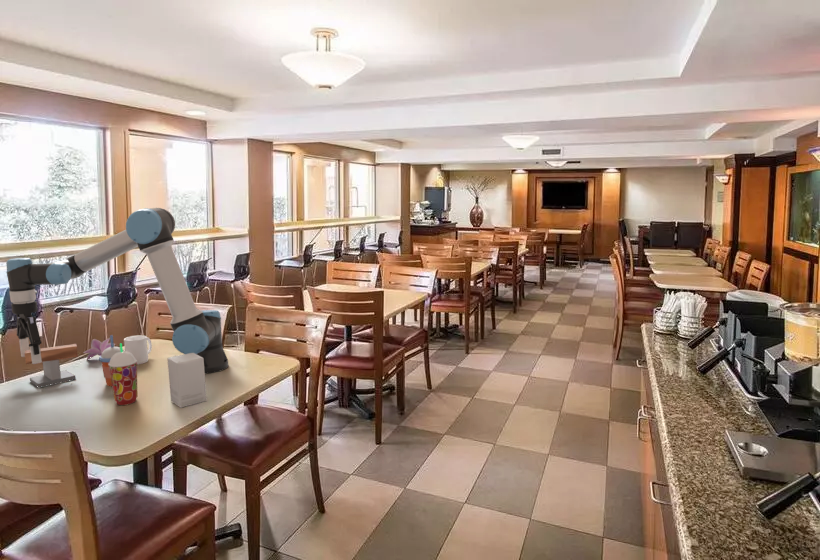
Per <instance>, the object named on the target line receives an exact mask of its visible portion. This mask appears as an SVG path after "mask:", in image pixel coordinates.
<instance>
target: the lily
mask: <svg viewBox="0 0 820 560" xmlns="http://www.w3.org/2000/svg"><path fill="white" fill-rule="evenodd" d="M109 341H110V337H108V338H107V339H105V340H103V341H100V340H99V339H96V338H94V339H92V340H91V343H90V347H91V348H89V349H87V350H85V351H83V354H87V357H86V361H89V360H90V359H92V358H94V357H96V356H98V357H100V356H101V355H102V352H103V351H104V350H105V349H107V348H109V347H111V342H109ZM115 345H116V343H114V346H115ZM90 357H91V358H90ZM88 359H89V360H88Z"/></svg>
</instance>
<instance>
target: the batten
mask: <svg viewBox="0 0 820 560" xmlns="http://www.w3.org/2000/svg"><path fill="white" fill-rule="evenodd" d="M40 352H41V360H42V362H41V363H43V362H45V361H51V360H58V359H59V360H64V359H69V358H70V359H71V358H76V357H77V358H78V356H79V355H78V354H79V353H78V345H77V343H72V344H66V345H57V346H52V347H51V346H49V347H42V348H40ZM24 359H25V360H24V361H25V364H26V365H30V364H32V358H31V350H27V351H25V357H24Z"/></svg>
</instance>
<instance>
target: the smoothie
mask: <svg viewBox="0 0 820 560" xmlns="http://www.w3.org/2000/svg"><path fill="white" fill-rule="evenodd" d="M119 347H120V352H118V353H116V354H114V355H113V356H112V358H111V359H110V362H109V364H108V365H109V371H110V376H111V382H112V386H111V387H112V393H113V397H114V401H115V402H116V404H117V405H119V406H126V405H127V404H128V405H131V404H134V403H135V402H137V398H138V364H137V360H136V359H135V358H134V356H133V355H132V354H131V353H129V352H126V351H125V350H124V348H123V343H121V342H120V343H119ZM123 350H124V351H123Z"/></svg>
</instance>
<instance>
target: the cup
mask: <svg viewBox="0 0 820 560" xmlns="http://www.w3.org/2000/svg"><path fill="white" fill-rule="evenodd" d="M123 345H124V351H126V352H129V353H131V354H132V355H133V356H134V358H135V359H136V360H137V365H142V364H146V363H147V362H148V361H149V355H150V353H151V351H152V349H153V345H152V340H151V339H150V337H147V335H130V336H127V337H125V338H123Z"/></svg>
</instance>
